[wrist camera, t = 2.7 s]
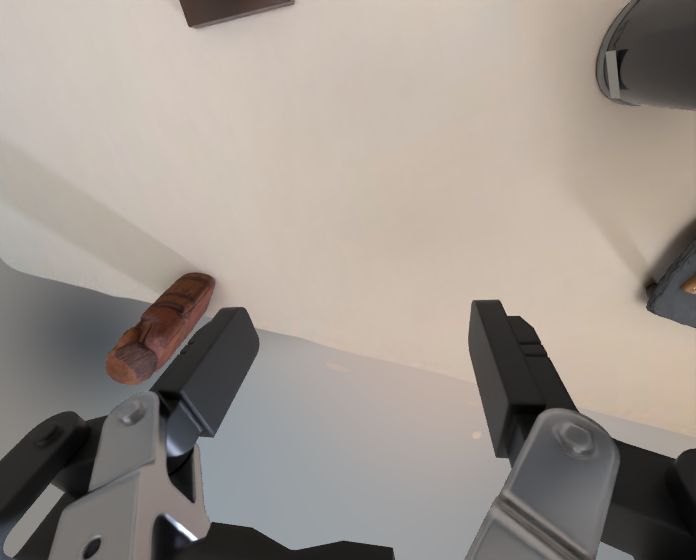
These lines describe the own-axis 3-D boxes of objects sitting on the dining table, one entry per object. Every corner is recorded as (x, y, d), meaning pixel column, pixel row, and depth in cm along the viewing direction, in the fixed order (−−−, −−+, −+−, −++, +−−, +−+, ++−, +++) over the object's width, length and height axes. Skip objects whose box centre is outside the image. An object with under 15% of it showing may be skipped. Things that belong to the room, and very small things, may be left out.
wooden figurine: (185, 260, 48) (92, 340, 33) (221, 279, 49) (147, 364, 35) (172, 305, 55) (89, 388, 40) (204, 321, 56) (135, 407, 41)
